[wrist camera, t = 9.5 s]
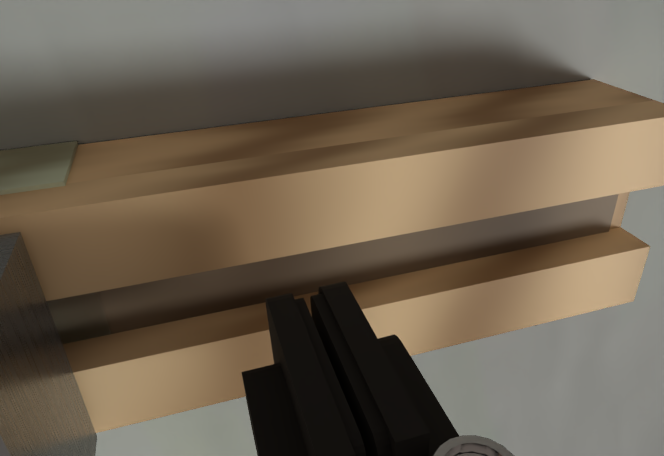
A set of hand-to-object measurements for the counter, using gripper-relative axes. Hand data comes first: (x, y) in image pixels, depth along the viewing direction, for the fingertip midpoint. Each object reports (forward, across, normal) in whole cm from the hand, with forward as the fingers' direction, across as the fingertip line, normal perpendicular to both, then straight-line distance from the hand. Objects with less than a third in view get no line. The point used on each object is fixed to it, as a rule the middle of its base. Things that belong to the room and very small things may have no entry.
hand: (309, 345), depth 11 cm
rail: (+5, 0, 0) cm, 5 cm away
